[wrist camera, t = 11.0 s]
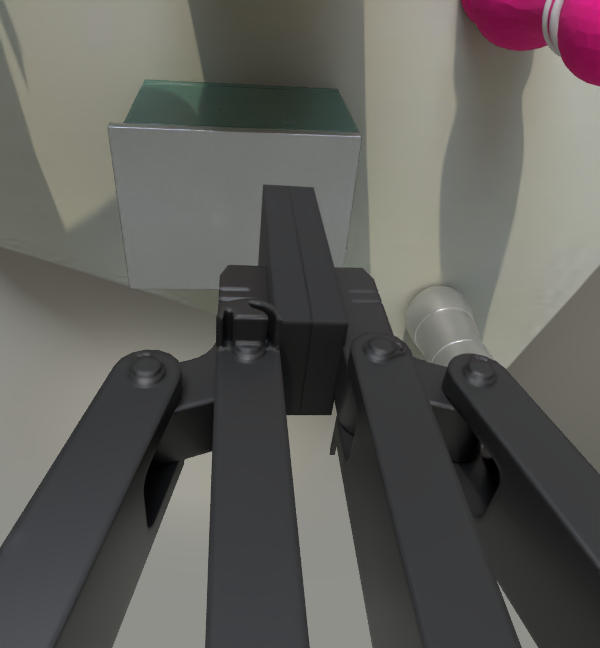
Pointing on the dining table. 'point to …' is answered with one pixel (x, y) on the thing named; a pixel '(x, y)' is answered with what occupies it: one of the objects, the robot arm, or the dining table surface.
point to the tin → (240, 106)
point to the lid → (219, 195)
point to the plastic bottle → (443, 325)
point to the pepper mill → (544, 29)
